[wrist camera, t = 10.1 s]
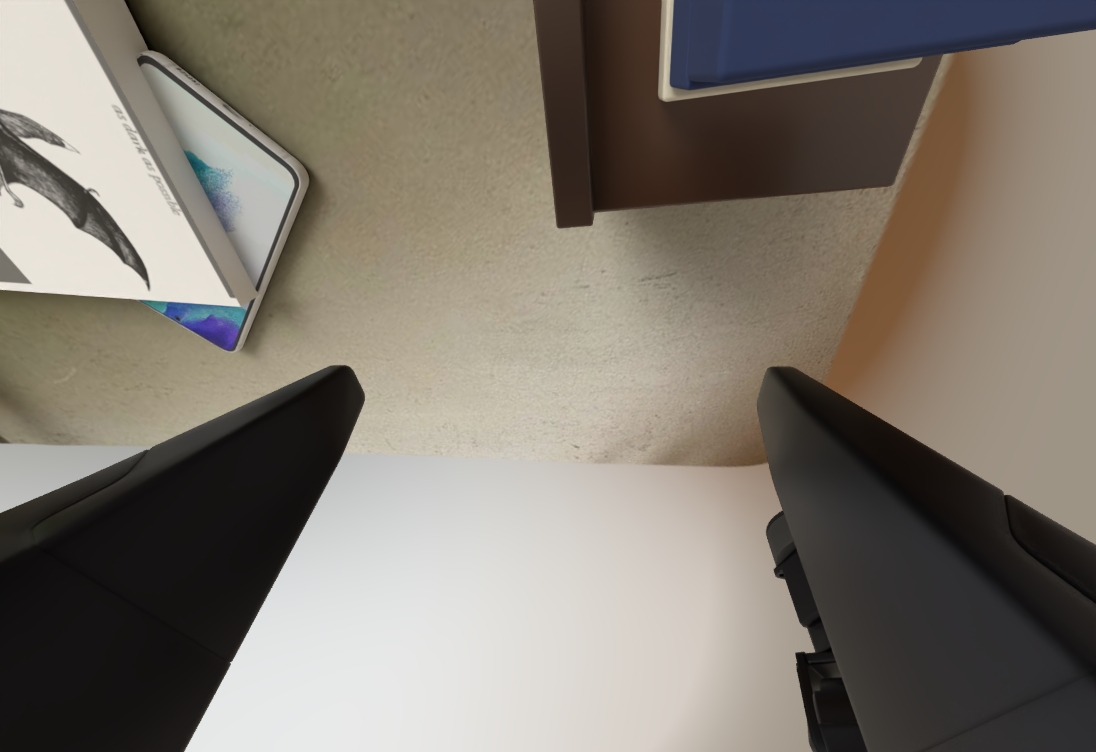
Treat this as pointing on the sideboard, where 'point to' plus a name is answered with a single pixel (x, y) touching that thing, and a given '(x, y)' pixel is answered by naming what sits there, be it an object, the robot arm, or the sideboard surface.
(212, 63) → the sideboard surface
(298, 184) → the smartphone
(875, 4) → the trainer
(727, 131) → the shelf
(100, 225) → the book
